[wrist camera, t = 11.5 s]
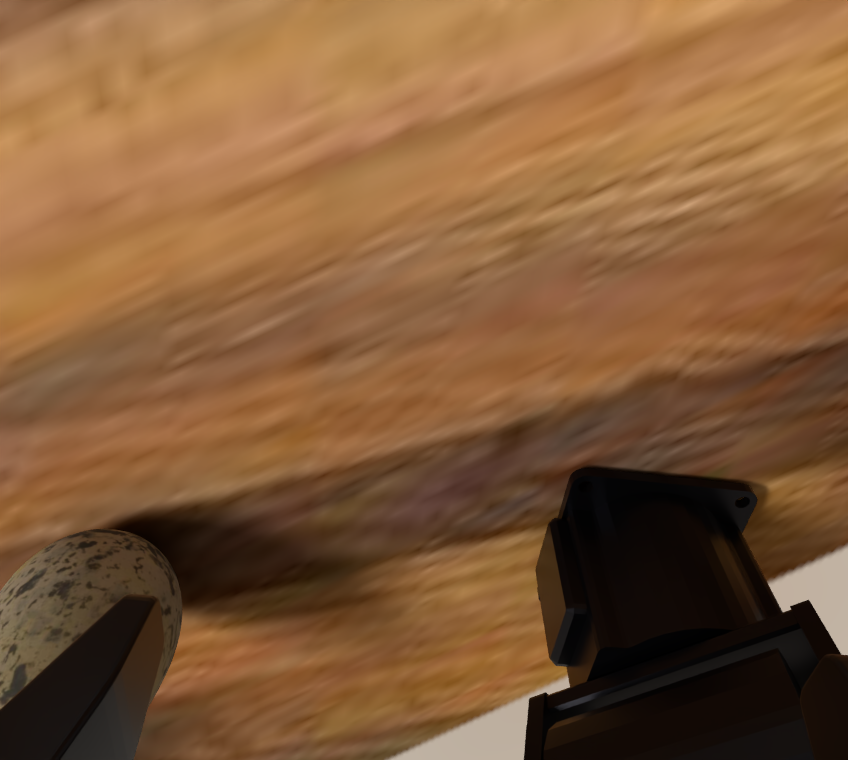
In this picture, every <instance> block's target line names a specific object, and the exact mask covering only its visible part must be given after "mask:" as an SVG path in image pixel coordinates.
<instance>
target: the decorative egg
mask: <svg viewBox="0 0 848 760" xmlns="http://www.w3.org/2000/svg"><path fill="white" fill-rule="evenodd" d="M128 594H141V595H153V596H156V597H157V598H158V599H159V601H160V605H161V613H162V621H163V629H164V648H163V653H162V657H161V661H160V664H159V668H158V672H157V675H156V679H155V683H154V686H153V690H152V694H151V697H150V701H149V705H150V703H151V702H152V700H153V698H154V696H155V694H156V693H157V691H158V689H159V687H160V685H161V683H162V681H163V679H164V677H165V675H166V673H167V671H168V669H169V666H170V664H171V661H172V659H173V656H174V653H175V650H176V647H177V643H178V639H179V635H180V629H181V622H182V597H181V591H180V587H179V583H178V580H177V577H176V574H175V572H174V570H173V568H172V566H171V564H170V563H169V561H168V560H167V558H166V557H165V556H164V555H163V554H162V553H161V551H160V550H159V549H158V548H156V547H155V546H154V545H153V544H152V543H150V542H149V541H147V540H145V539H144V538H142V537H140V536H138V535H135V534H133V533H130V532H126V531H121V530H115V529H95V530H88V531H83V532H79V533H76V534H73V535H69V536H67V537H65V538H62V539H60V540H58V541H56V542H54V543H52V544H50V545H48V546H47V547H45V548H44V549H42V550H41V551H39V552H38V553H37V554H35V555H34V556H33V557H31V558H30V559H29V560H28V561H27V562H26V563H24V564H23V565H22V566H21V567H20V568H19V569H18V570H17V571H16V572H15V573H14V575H13V576H12V577H11V578H10V579H9V581H8V582H7V583H6V584H5V586H4V587H3V588H2V590H1V591H0V709H1V708H2V707H3V706H4V705H5V704H6V703H8V702H9V701H10V700H11V699H12V698H13V697H14V696H15V695H16V694H17V693H18V692H19V691H21V690H22V689H23V688H24V687H25V686H26V685H27V684H28V683H29V682H30V681H31V680H33V679H34V678H35V677H36V676H37V675H38V674H39V673H40V672H41V671H42V670H43V669H44V668H46V667H47V666H48V665H49V664H50V663H51V662H52V661H53V660H54V659H55V658H56V657H58V656H59V655H60V654H61V653H62V652H63V651H64V650H65V649H66V648H67V647H68V646H69V645H71V644H72V643H73V642H74V641H75V640H76V639H77V638H78V637H79V636H80V635H81V634H83V633H84V632H85V631H86V630H87V629H88V628H89V627H90V626H91V625H92V624H93V623H94V622H96V621H97V620H98V619H99V618H100V617H101V616H102V615H103V614H104V613H105V612H106V611H107V610H109V609H110V608H111V607H112V606H113V605H114V604H115V603H116V602H117V601H118V600H119V599H121V598H122V597H123V596H125V595H128ZM149 705H148V706H149Z"/></svg>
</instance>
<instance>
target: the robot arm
mask: <svg viewBox="0 0 848 760" xmlns="http://www.w3.org/2000/svg"><path fill="white" fill-rule="evenodd" d="M585 481H588V482H589V483H588V484H586V485H580V483H582V482H585ZM740 497H744V498H742V499H740V500H737V499H738V498H740ZM756 503H757V497H756V495H755V493H754V491H753V490H752V488H751V487H750V486H749V485H746V484H741V483H730V482H720V481H710V480H700V479H690V478H680V477H670V476H660V475H650V474H640V473H630V472H620V471H610V470H600V469H590V468H581V469H579V470H576V471H575V472H573V473H572V474H571V476H570V478H569V481H568V484H567V488H566V491H565V495H564V498H563V502H562V505H561V509H560V512H559V515H558V518H554V519H553V520H552V521H551V522H550V523H549V524H548V527H547V531H546V534H545V538H544V541H543V545H542V548H541V552H540V555H539V559H538V562H537V566H536V577H537V584H538V597H539V600H540V602H541V609H542V615H543V621H544V627H545V634H546V640H547V646H548V653H549V658H550V659H551V661H552V662H553V663H554V664H555V665H556V666H566V667H567V672H568V678H569V683H570V688H567V689H564V690H561V691H559V692H555V693H552V694H550V695H548V694H547V693H543V694H540V695H537V696H534V697H532V698H530V699H529V708H528V720H527V727H526V740H525V754H524V760H848V655H841V653H840V652H839V650H838V648H837V647H836V645H835V643H834V641H833V640H832V638H831V636H830V635H829V633H828V631H827V630H826V628H825V626H824V625H823V623H822V621H821V620H820V618H819V616H818V614H817V613H816V611H815V609H814V608H813V606H812V604H811V603H810V601H809V600H807V601H804V602H801V603H798V604H796V605H793V606H790V607H791V610H789V611H786V612H782V611H781V608H780V607H779V604H778V603H777V601H776V599H775V597H774V595H773V593H772V591H771V589H770V587H769V585H768V583H767V581H766V579H765V577H764V575H763V573H762V571H761V570H760V568H759V566H758V564H757V562H756V560H755V558H754V556H753V554H752V552H751V550H750V548H749V546H748V544H747V542H746V540H745V538H744V537H743V535H742V533H743V530H744V528H745V526H746V524H747V522H748V520H749V518H750V516H751V514H752V512H753V510H754V508H755V506H756ZM163 648H164V629H163V621H162V613H161V605H160V601H159V599H158V598H157V597H156V596H153V595H141V594H128V595H125V596H123V597H122V598H121V599H119V600H118V601H117V602H116V603H115V604H114V605H113V606H112V607H111V608H110V609H109V610H107V611H106V612H105V613H104V614H103V615H102V616H101V617H100V618H99V619H98V620H97V621H96V622H94V623H93V624H92V625H91V626H90V627H89V628H88V629H87V630H86V631H85V632H84V633H83V634H81V635H80V636H79V637H78V638H77V639H76V640H75V641H74V642H73V643H72V644H71V645H69V646H68V647H67V648H66V649H65V650H64V651H63V652H62V653H61V654H60V655H59V656H58V657H56V658H55V659H54V660H53V661H52V662H51V663H50V664H49V665H48V666H47V667H46V668H44V669H43V670H42V671H41V672H40V673H39V674H38V675H37V676H36V677H35V678H34V679H33V680H31V681H30V682H29V683H28V684H27V685H26V686H25V687H24V688H23V689H22V690H21V691H19V692H18V693H17V694H16V695H15V696H14V697H13V698H12V699H11V700H10V701H9V702H8V703H6V704H5V705H4V706H3V707H2V708H1V709H0V760H133V759H134V756H135V752H136V749H137V745H138V741H139V738H140V734H141V730H142V727H143V723H144V719H145V716H146V712H147V708H148V705H149V701H150V697H151V694H152V690H153V686H154V683H155V679H156V675H157V672H158V668H159V664H160V661H161V657H162V653H163Z"/></svg>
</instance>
